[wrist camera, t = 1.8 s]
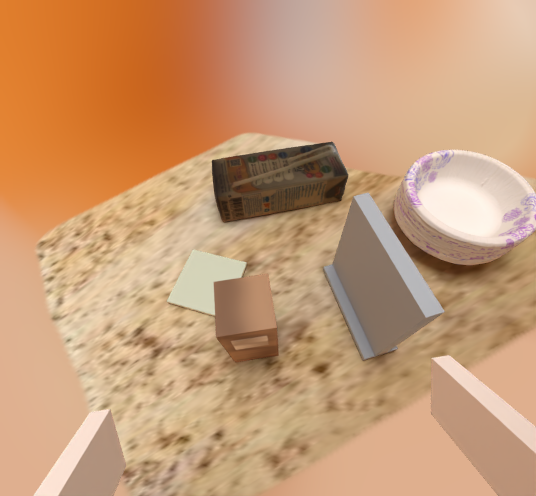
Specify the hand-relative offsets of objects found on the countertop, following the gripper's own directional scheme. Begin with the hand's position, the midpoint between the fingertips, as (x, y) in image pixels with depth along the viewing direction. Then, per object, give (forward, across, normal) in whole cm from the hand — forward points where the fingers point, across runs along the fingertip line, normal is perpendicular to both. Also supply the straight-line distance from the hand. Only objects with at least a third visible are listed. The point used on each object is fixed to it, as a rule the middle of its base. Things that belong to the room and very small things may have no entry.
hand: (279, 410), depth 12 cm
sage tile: (+27, -7, -3) cm, 28 cm away
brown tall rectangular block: (+21, -1, -8) cm, 23 cm away
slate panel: (+22, +12, -7) cm, 26 cm away
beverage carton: (+37, +5, +7) cm, 38 cm away
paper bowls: (+29, +27, 0) cm, 39 cm away
